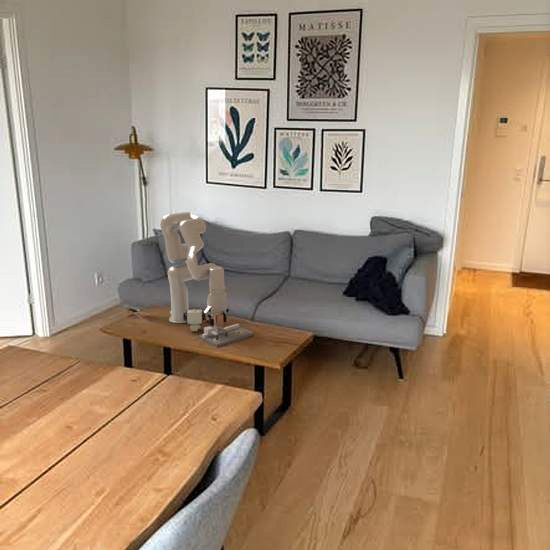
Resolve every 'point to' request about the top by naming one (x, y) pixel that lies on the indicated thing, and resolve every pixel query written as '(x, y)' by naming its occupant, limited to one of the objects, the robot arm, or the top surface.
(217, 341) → the plate
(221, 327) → the sliding leg
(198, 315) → the pneumatic valve
